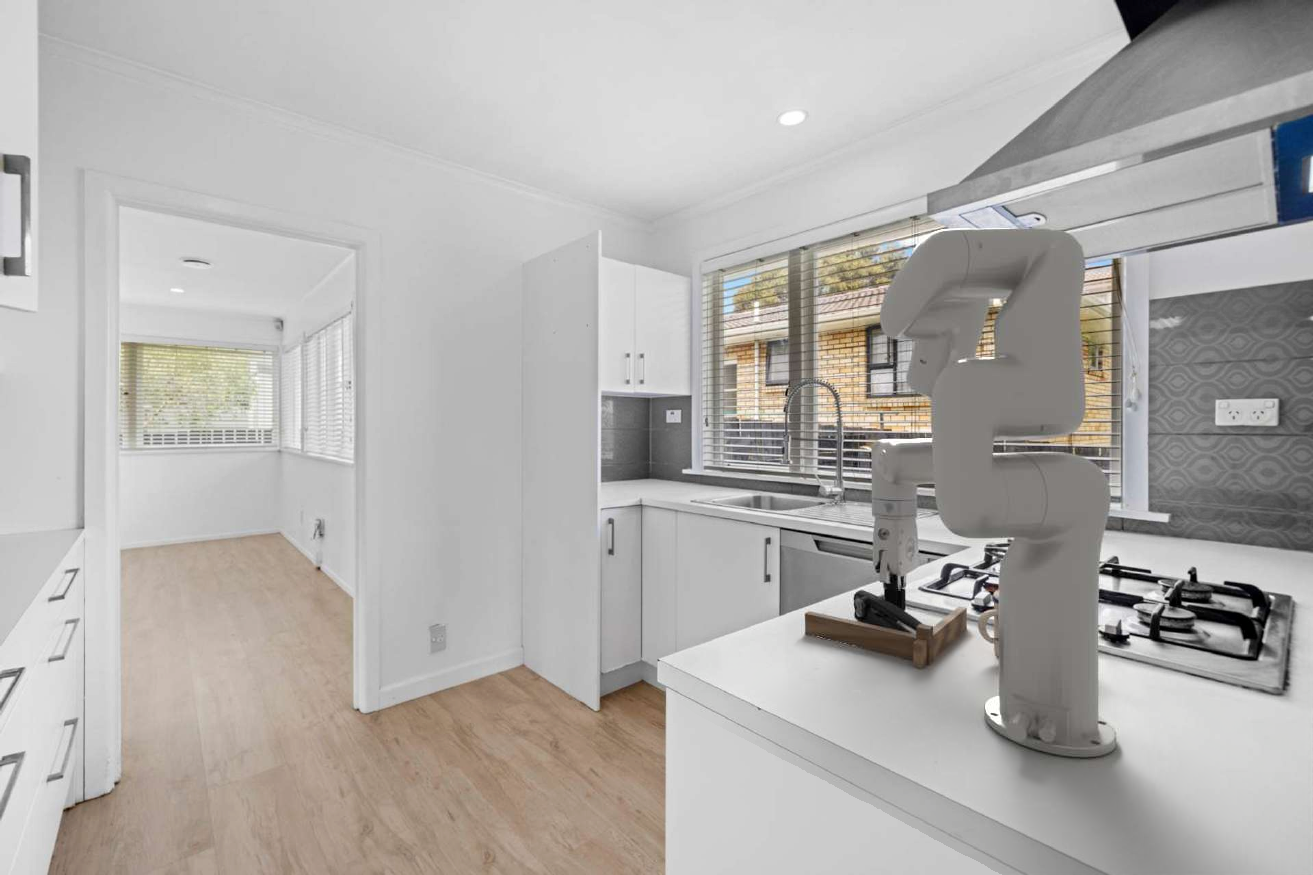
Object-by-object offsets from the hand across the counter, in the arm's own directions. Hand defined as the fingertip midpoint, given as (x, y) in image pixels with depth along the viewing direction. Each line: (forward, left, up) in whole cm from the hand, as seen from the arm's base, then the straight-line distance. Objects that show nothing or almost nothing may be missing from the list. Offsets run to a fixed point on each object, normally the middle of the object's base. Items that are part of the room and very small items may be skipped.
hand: (894, 610), depth 107 cm
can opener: (-7, -2, -2) cm, 8 cm away
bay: (-8, -1, -2) cm, 9 cm away
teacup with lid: (-6, -21, -2) cm, 22 cm away
